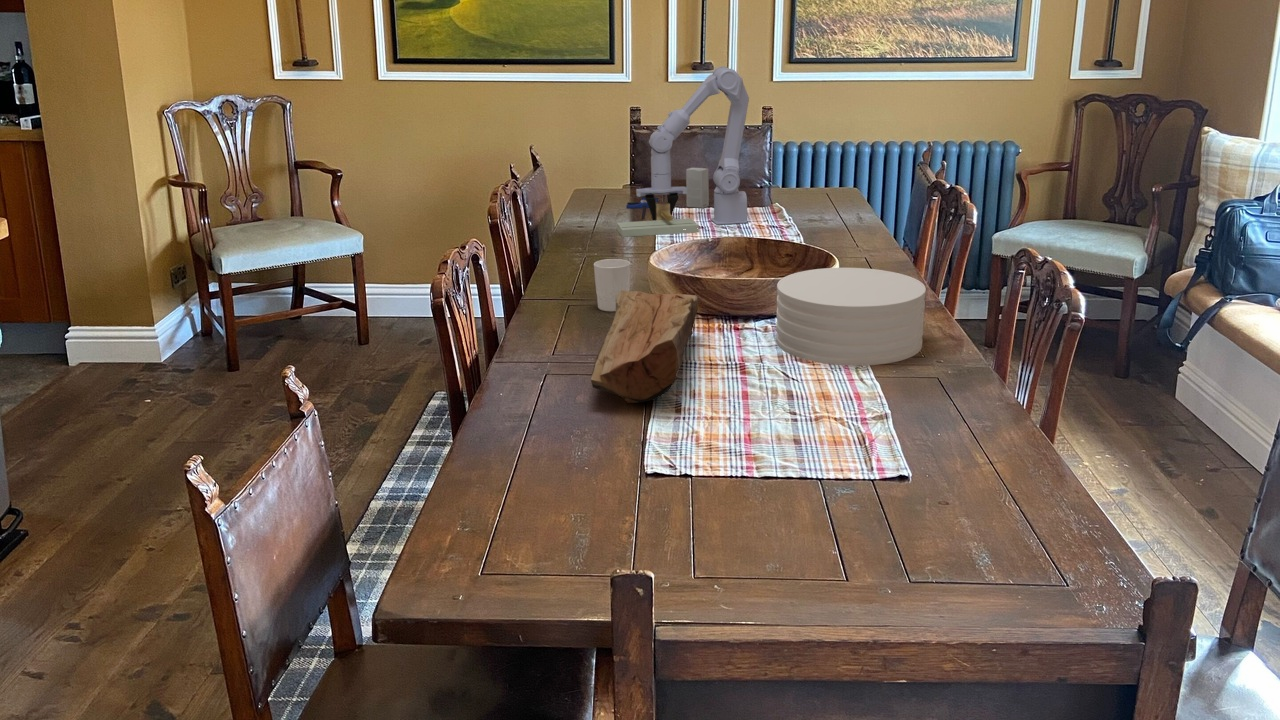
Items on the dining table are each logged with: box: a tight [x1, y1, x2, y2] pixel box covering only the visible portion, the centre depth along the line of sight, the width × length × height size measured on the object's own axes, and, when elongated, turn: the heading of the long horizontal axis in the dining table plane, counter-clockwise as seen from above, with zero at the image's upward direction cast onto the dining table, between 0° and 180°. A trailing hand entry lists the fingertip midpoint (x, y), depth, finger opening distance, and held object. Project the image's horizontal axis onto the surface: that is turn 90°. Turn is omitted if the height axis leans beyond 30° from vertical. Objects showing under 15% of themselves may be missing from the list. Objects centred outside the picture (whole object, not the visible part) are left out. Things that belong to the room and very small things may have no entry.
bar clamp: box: [625, 196, 659, 221], centre depth 334 cm, size 32×2×10 cm
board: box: [616, 218, 700, 238], centre depth 308 cm, size 22×10×2 cm, turn 100°
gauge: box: [655, 200, 674, 221], centre depth 311 cm, size 4×12×6 cm, turn 13°
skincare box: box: [685, 167, 710, 209], centre depth 339 cm, size 6×4×12 cm
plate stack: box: [775, 267, 927, 366], centre depth 208 cm, size 28×28×12 cm
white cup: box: [593, 258, 631, 313], centre depth 235 cm, size 8×8×10 cm
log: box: [590, 290, 699, 404], centre depth 196 cm, size 42×18×15 cm, turn 171°
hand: (661, 219), depth 315 cm, fingers closed on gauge, 4 cm apart
